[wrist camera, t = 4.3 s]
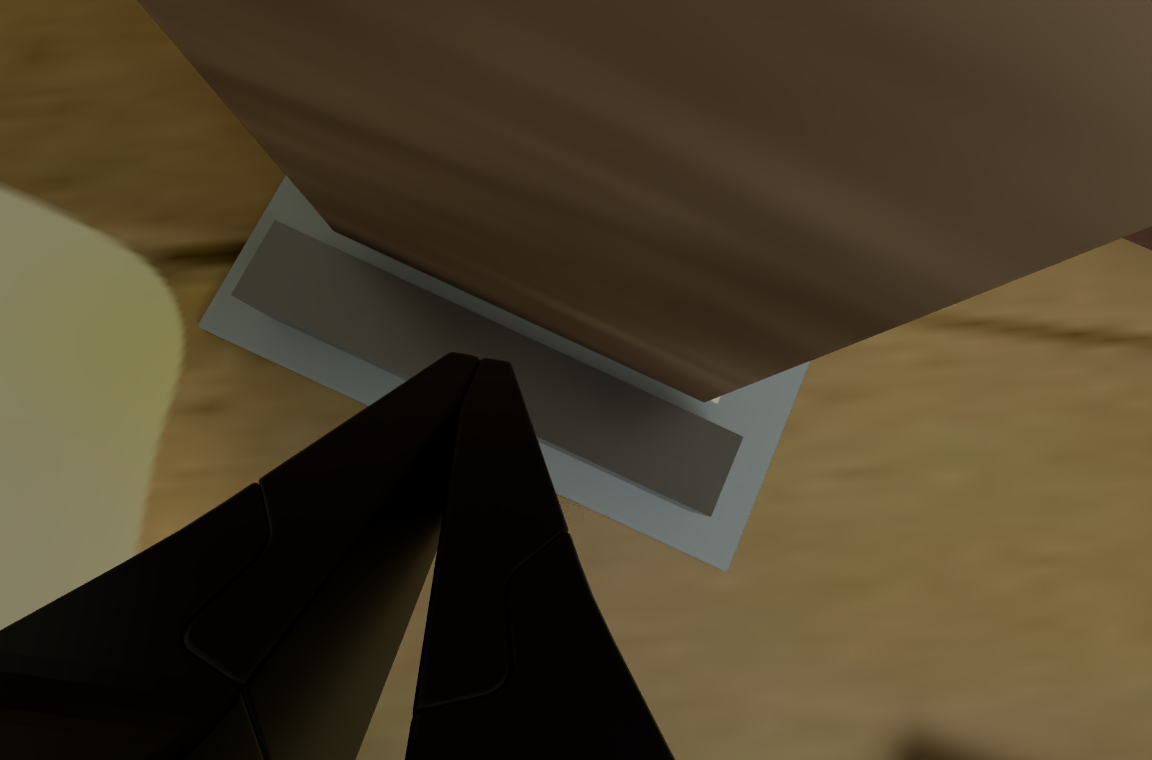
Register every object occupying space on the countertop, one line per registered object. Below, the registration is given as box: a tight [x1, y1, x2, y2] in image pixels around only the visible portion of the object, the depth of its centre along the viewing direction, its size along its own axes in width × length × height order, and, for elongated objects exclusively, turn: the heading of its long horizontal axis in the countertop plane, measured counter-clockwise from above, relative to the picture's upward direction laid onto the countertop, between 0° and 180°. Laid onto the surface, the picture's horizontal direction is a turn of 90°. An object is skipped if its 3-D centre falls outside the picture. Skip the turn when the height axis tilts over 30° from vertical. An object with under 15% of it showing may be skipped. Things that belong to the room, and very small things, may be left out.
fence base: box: [231, 220, 743, 517], centre depth 15 cm, size 2×12×2 cm, turn 66°
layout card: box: [197, 176, 810, 572], centre depth 17 cm, size 22×15×1 cm
